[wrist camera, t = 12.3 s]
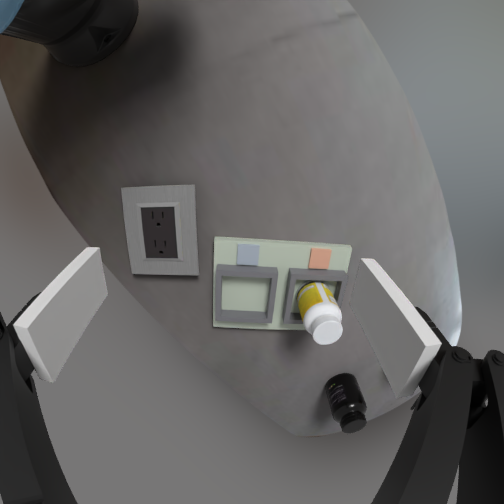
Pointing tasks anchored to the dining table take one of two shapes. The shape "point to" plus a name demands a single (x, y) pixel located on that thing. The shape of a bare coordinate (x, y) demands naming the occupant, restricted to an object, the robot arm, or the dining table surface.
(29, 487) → the robot arm
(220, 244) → the tag board
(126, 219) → the electrical outlet
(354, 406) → the supplement bottle
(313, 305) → the supplement bottle
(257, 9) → the dining table surface
